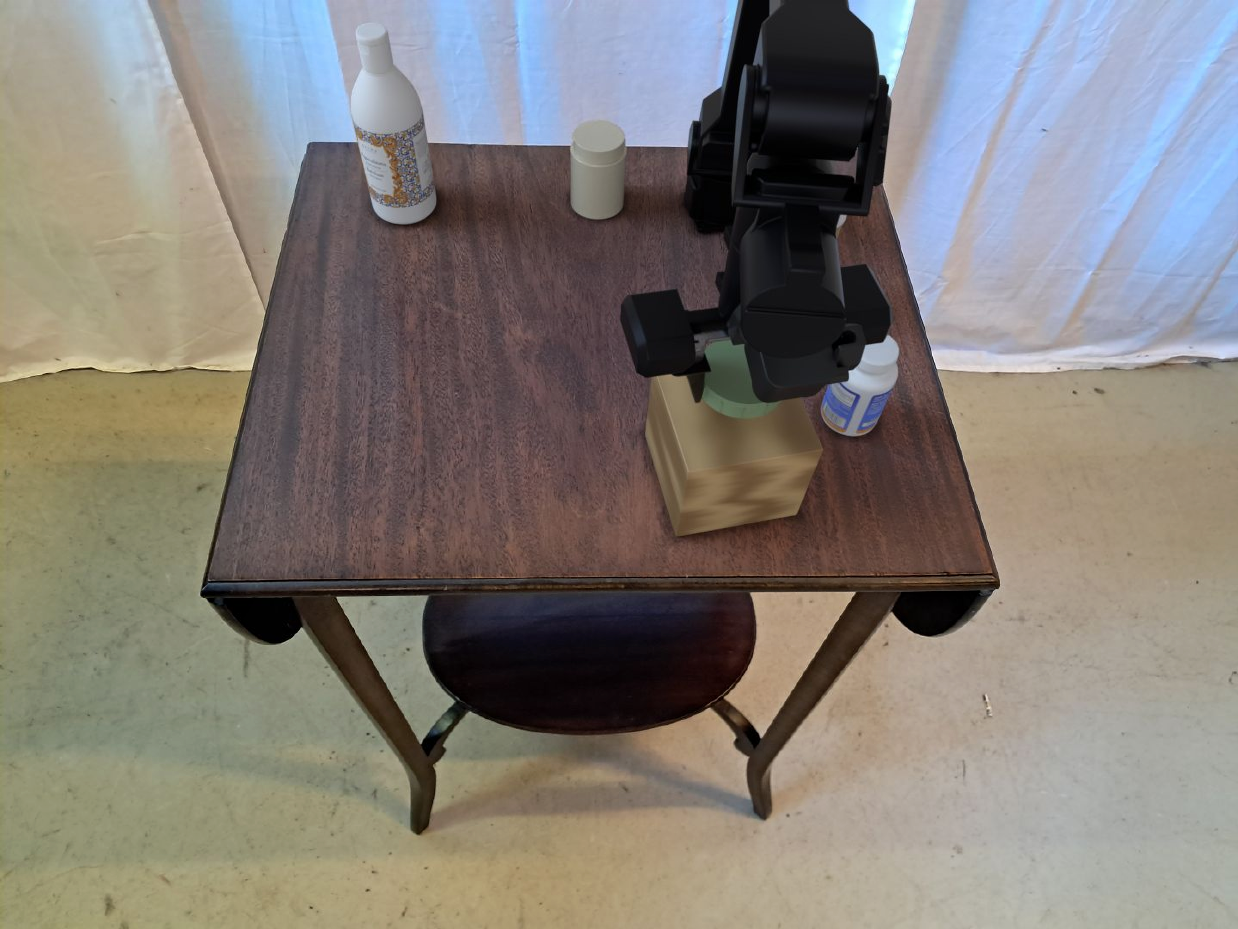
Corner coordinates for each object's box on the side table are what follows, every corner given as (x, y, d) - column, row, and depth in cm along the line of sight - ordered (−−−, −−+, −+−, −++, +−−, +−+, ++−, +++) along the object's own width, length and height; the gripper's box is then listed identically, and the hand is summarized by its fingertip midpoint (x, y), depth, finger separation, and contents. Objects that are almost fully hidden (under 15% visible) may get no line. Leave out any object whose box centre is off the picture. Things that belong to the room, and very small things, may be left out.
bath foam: (360, 210, 96) (316, 34, 80) (400, 177, 100) (366, 1, 83) (410, 235, 95) (375, 60, 78) (449, 200, 98) (424, 25, 81)
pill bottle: (874, 396, 85) (906, 326, 77) (878, 441, 82) (911, 373, 74) (818, 390, 85) (843, 320, 77) (819, 435, 82) (846, 367, 74)
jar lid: (710, 425, 66) (713, 410, 65) (686, 357, 70) (689, 341, 68) (796, 411, 67) (801, 396, 66) (768, 345, 71) (772, 330, 70)
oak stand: (757, 416, 83) (778, 345, 75) (796, 515, 77) (823, 449, 69) (644, 434, 81) (652, 363, 73) (675, 537, 75) (688, 472, 67)
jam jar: (617, 181, 101) (620, 115, 94) (629, 216, 98) (633, 150, 91) (565, 187, 100) (565, 120, 93) (576, 222, 97) (576, 156, 90)
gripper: (667, 352, 51) (648, 496, 64) (962, 310, 54) (886, 455, 67) (623, 224, 57) (614, 379, 70) (891, 192, 60) (834, 346, 73)
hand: (737, 392), depth 69 cm, fingers closed on jar lid, 7 cm apart
